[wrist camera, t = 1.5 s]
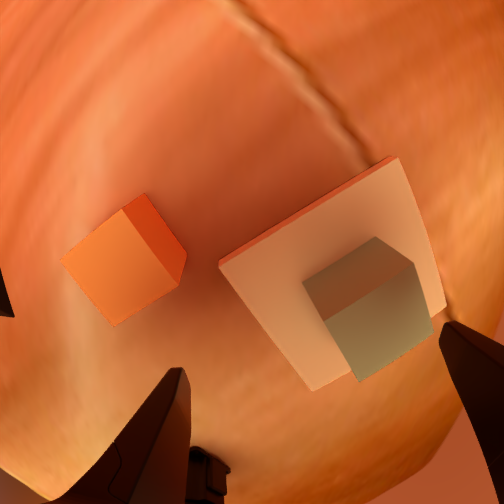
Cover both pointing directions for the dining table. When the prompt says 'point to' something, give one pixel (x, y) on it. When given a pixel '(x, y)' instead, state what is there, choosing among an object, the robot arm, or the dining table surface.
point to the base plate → (328, 263)
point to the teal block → (371, 306)
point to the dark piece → (4, 300)
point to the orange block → (127, 261)
